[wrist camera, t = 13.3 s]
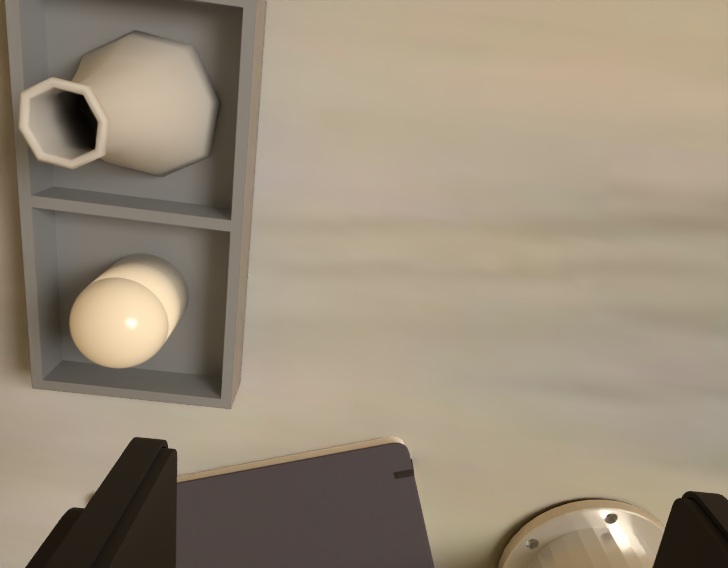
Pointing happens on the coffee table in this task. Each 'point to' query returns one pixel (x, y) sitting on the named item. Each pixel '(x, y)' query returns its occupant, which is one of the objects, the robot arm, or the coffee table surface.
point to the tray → (141, 200)
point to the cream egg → (129, 311)
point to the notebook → (306, 512)
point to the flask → (125, 108)
